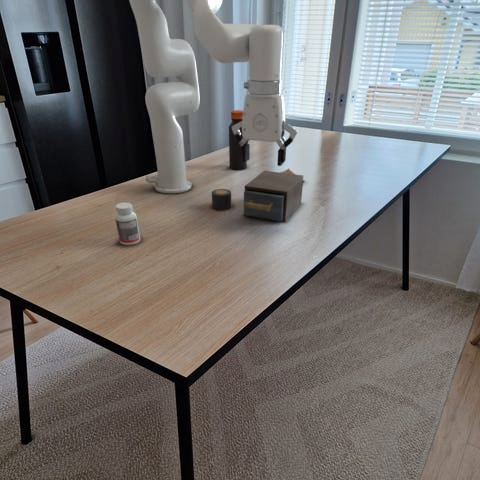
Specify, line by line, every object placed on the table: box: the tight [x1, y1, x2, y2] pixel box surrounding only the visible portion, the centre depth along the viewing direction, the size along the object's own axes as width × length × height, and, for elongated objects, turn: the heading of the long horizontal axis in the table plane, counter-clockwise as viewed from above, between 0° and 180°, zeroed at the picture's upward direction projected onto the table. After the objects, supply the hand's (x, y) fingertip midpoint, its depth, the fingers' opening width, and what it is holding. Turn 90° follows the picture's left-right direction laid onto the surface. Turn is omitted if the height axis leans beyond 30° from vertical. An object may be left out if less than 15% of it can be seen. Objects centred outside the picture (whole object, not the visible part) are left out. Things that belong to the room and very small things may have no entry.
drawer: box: [243, 190, 284, 222], centre depth 119 cm, size 19×12×7 cm, turn 156°
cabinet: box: [244, 170, 304, 223], centre depth 123 cm, size 16×13×9 cm
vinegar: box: [228, 109, 248, 171], centre depth 154 cm, size 7×7×20 cm
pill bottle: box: [114, 202, 141, 246], centre depth 105 cm, size 5×5×10 cm
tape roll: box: [211, 188, 232, 211], centre depth 126 cm, size 6×6×5 cm
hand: (263, 162), depth 107 cm, fingers open, 9 cm apart
